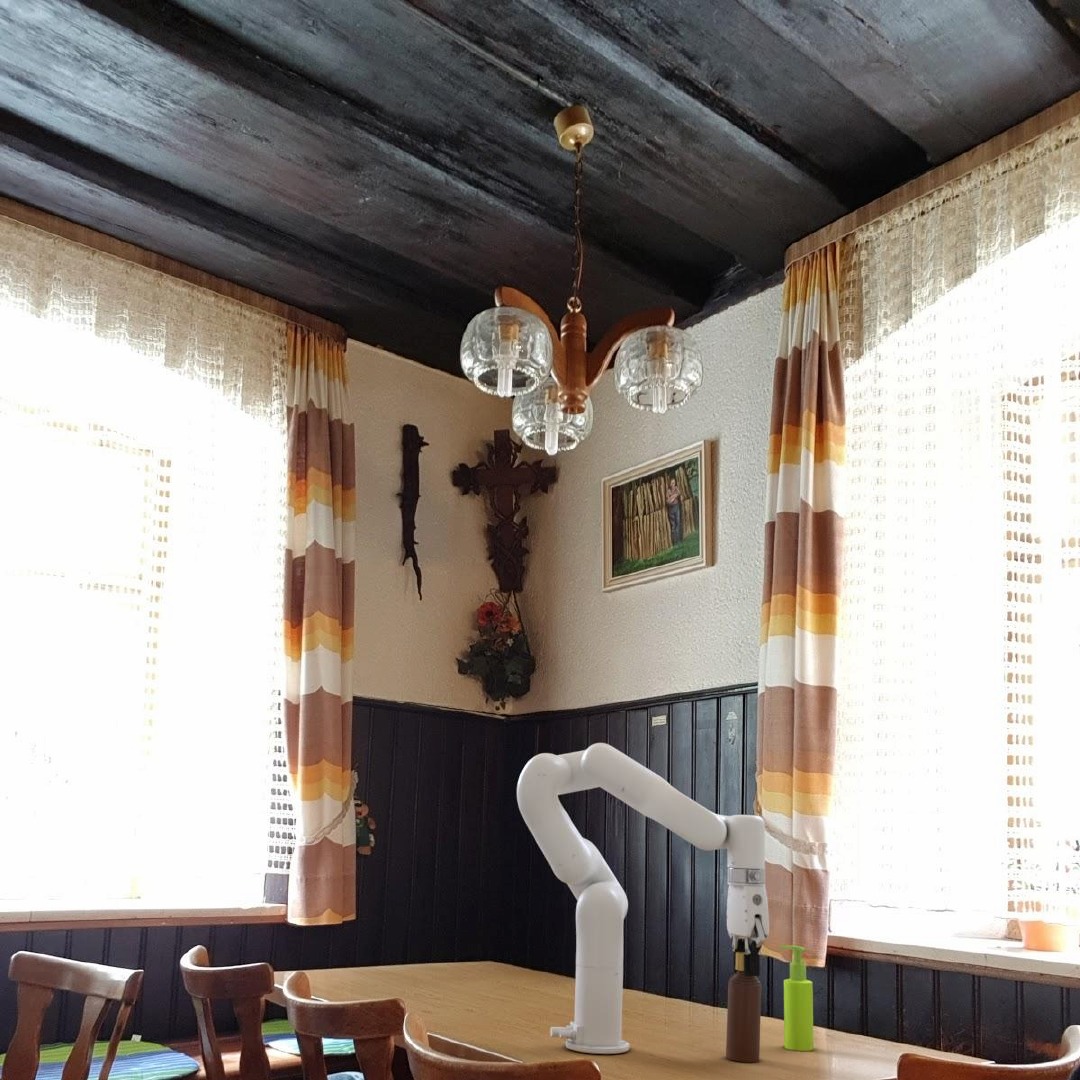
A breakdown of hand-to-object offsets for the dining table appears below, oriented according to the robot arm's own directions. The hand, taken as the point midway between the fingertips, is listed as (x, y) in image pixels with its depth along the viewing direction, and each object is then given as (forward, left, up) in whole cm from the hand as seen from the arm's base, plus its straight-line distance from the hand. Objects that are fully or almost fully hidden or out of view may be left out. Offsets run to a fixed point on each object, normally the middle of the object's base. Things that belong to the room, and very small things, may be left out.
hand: (746, 973), depth 232 cm
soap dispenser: (+16, +12, -16) cm, 26 cm away
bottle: (-1, 0, -16) cm, 16 cm away
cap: (0, 0, +1) cm, 1 cm away
